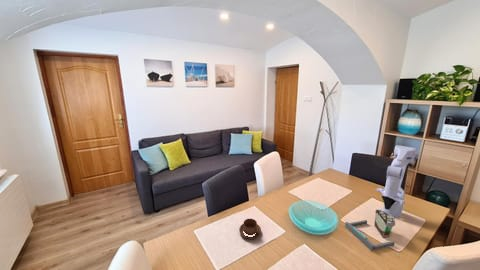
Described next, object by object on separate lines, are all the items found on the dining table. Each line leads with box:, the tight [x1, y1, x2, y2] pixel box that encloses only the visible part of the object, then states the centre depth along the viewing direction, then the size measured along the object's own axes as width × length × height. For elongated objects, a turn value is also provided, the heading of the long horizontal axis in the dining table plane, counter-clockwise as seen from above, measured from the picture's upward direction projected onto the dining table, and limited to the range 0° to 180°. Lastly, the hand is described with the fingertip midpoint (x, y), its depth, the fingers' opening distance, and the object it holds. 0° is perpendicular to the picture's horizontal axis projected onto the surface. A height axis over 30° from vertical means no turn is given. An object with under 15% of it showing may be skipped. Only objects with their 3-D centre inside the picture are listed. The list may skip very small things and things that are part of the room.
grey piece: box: [344, 219, 395, 252], centre depth 101 cm, size 14×17×4 cm
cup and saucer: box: [239, 218, 262, 240], centre depth 103 cm, size 12×12×6 cm
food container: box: [373, 209, 396, 239], centre depth 102 cm, size 12×6×10 cm, turn 168°
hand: (387, 208), depth 107 cm, fingers closed
